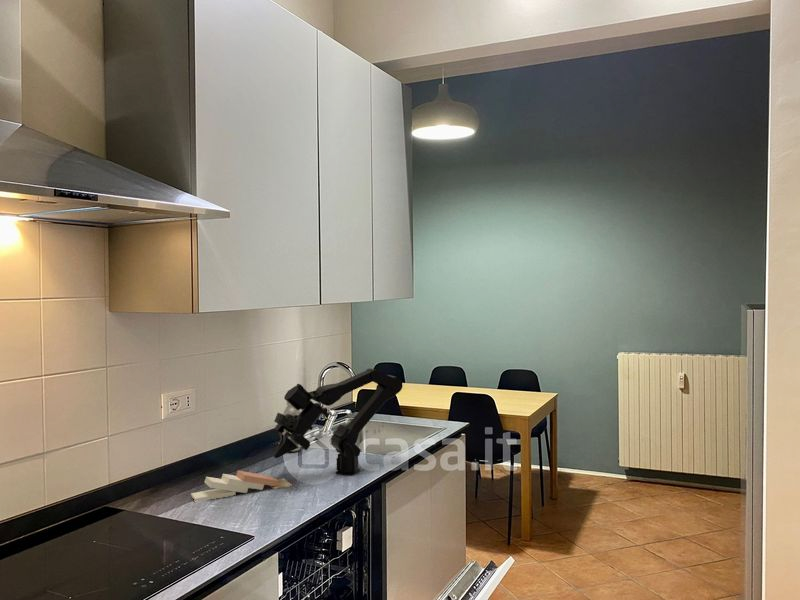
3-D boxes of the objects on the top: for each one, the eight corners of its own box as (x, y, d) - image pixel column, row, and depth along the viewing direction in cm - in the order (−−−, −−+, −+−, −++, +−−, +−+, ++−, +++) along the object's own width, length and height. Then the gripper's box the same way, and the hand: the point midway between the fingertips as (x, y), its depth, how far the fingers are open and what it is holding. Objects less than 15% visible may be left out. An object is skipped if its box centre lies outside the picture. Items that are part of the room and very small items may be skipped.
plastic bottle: (280, 452, 242) (279, 400, 241) (289, 448, 248) (288, 397, 248) (295, 454, 240) (294, 401, 239) (304, 449, 246) (303, 398, 245)
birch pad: (283, 479, 209) (283, 478, 209) (292, 486, 202) (292, 484, 202) (266, 482, 206) (266, 481, 206) (273, 489, 199) (273, 488, 199)
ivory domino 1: (230, 486, 199) (191, 493, 193) (235, 491, 194) (195, 498, 188) (230, 492, 199) (191, 499, 193) (235, 497, 194) (195, 504, 188)
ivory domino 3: (257, 479, 203) (222, 473, 196) (264, 484, 199) (229, 478, 192) (255, 484, 203) (221, 479, 196) (262, 489, 198) (227, 484, 191)
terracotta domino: (271, 476, 205) (237, 470, 198) (278, 480, 201) (244, 475, 194) (269, 481, 205) (235, 476, 198) (277, 486, 201) (243, 481, 194)
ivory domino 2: (241, 482, 200) (206, 476, 194) (248, 487, 196) (212, 481, 189) (240, 488, 200) (204, 482, 193) (246, 493, 196) (210, 487, 189)
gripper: (279, 399, 213) (248, 436, 208) (299, 408, 197) (266, 448, 192) (302, 419, 217) (272, 456, 212) (323, 430, 201) (291, 470, 196)
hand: (274, 457), depth 203 cm, fingers closed
